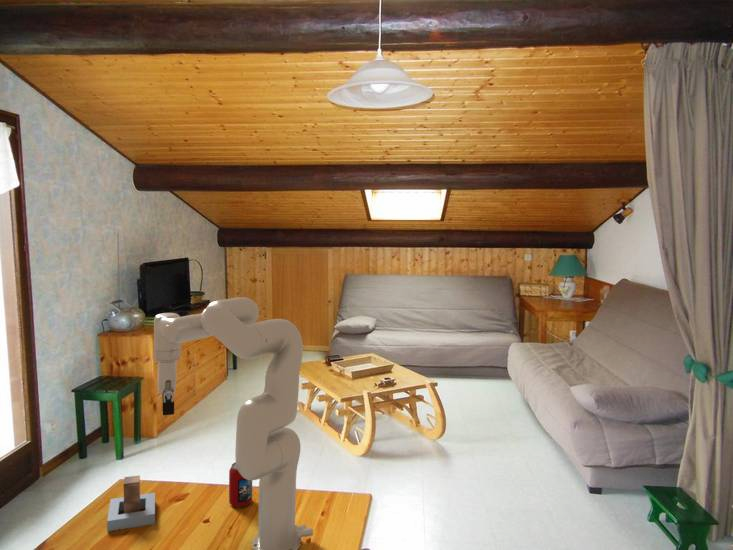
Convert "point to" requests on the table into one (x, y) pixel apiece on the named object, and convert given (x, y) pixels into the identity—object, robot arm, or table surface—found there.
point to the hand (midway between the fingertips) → (168, 408)
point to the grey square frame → (133, 518)
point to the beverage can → (239, 488)
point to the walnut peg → (131, 494)
